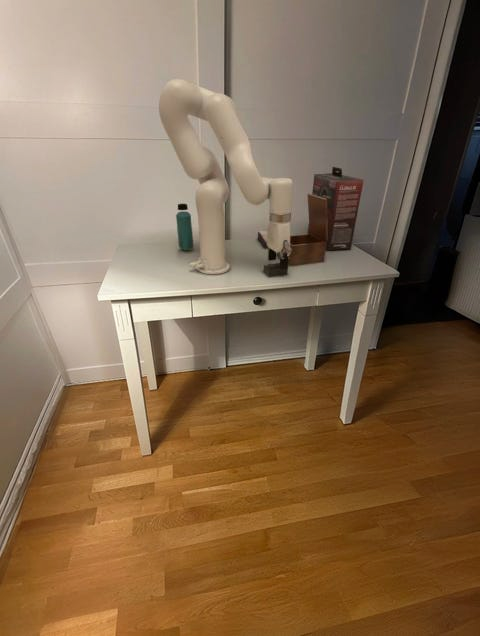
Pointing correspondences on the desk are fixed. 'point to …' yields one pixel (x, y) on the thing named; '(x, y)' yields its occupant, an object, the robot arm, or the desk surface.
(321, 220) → the lid
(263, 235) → the calculator
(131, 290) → the desk surface
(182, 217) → the beverage bottle
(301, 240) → the chest
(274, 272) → the black capsule on box
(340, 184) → the headset box
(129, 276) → the desk surface
